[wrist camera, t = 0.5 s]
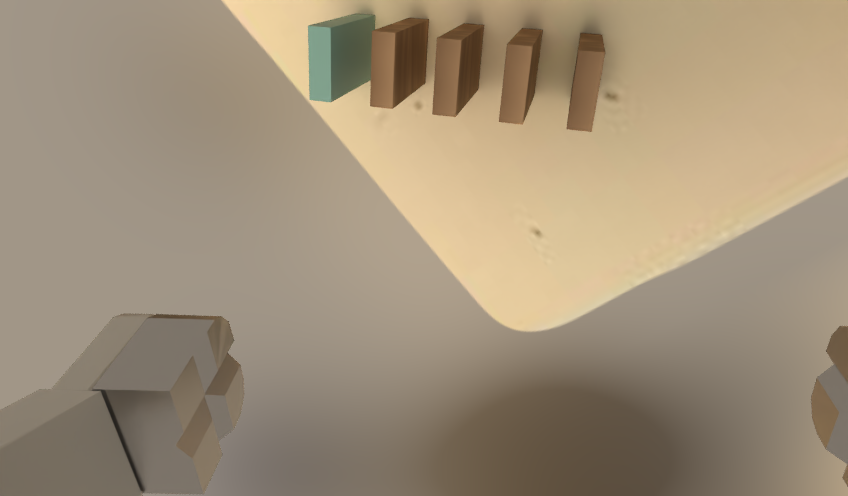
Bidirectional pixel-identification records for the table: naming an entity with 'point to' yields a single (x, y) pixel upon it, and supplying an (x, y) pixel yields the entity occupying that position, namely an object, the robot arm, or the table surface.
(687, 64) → the table surface
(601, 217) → the table surface
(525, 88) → the domino
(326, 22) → the domino
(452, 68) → the domino
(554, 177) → the table surface
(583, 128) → the domino
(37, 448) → the robot arm
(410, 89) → the domino
